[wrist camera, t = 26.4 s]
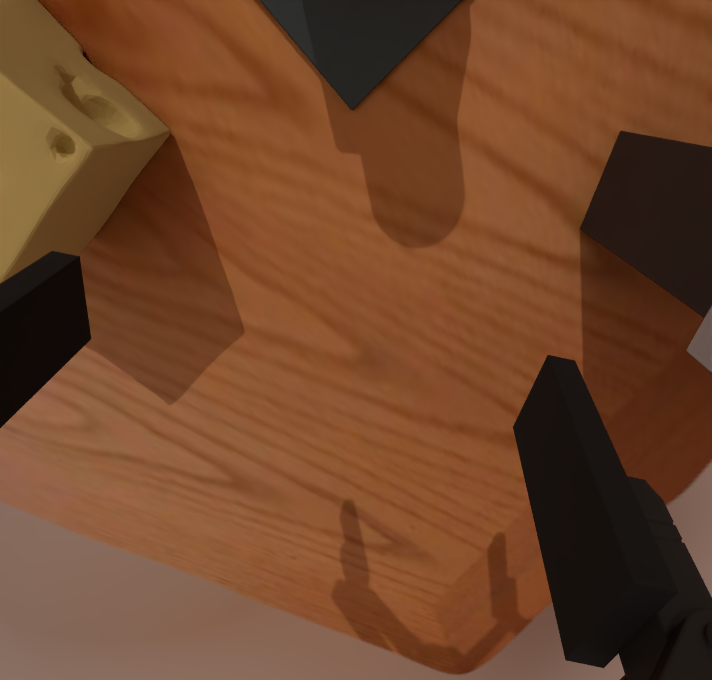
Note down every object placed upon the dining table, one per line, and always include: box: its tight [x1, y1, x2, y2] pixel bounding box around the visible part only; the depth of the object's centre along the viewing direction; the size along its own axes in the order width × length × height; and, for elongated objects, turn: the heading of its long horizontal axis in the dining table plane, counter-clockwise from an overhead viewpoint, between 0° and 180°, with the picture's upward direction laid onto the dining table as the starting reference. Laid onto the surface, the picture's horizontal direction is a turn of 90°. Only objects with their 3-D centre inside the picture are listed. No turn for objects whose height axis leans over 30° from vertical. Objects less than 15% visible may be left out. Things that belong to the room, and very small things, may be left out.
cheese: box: [0, 0, 171, 284], centre depth 27 cm, size 10×11×10 cm
